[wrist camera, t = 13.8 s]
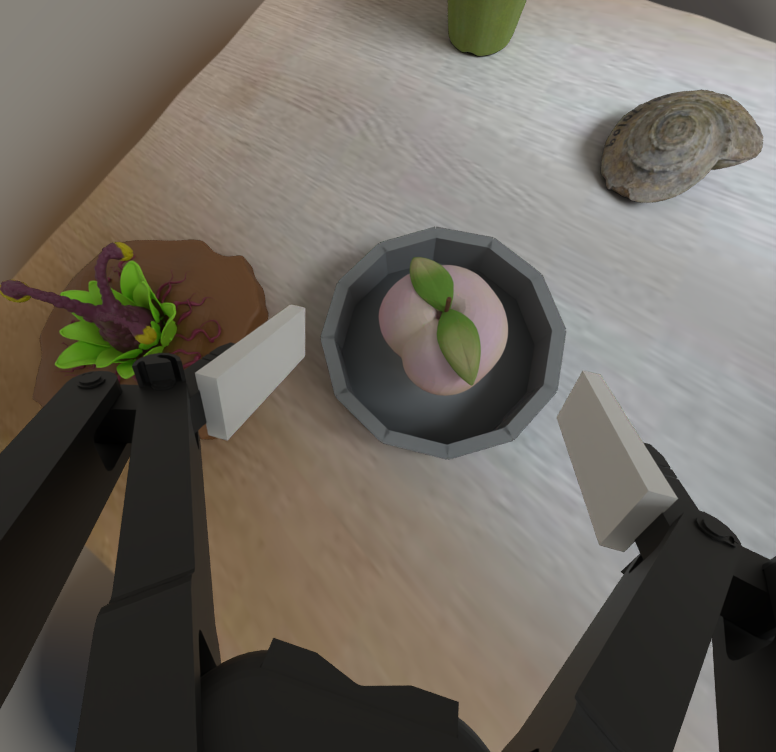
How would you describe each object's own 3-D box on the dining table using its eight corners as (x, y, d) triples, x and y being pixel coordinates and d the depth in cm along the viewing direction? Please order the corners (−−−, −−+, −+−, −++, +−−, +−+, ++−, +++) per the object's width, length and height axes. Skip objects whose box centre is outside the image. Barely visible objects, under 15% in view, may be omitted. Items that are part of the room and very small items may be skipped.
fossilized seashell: (614, 97, 32) (695, 29, 26) (690, 143, 35) (782, 92, 28) (586, 201, 32) (660, 160, 26) (665, 239, 35) (751, 211, 28)
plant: (106, 238, 34) (-34, 139, 23) (285, 261, 33) (225, 167, 22) (30, 429, 30) (-183, 418, 19) (231, 467, 28) (123, 478, 18)
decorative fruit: (509, 369, 28) (564, 326, 18) (425, 419, 27) (437, 403, 17) (448, 283, 30) (468, 202, 20) (369, 328, 29) (351, 267, 19)
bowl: (429, 226, 32) (433, 191, 28) (581, 346, 29) (613, 328, 24) (295, 355, 30) (277, 338, 26) (443, 501, 27) (450, 511, 22)
